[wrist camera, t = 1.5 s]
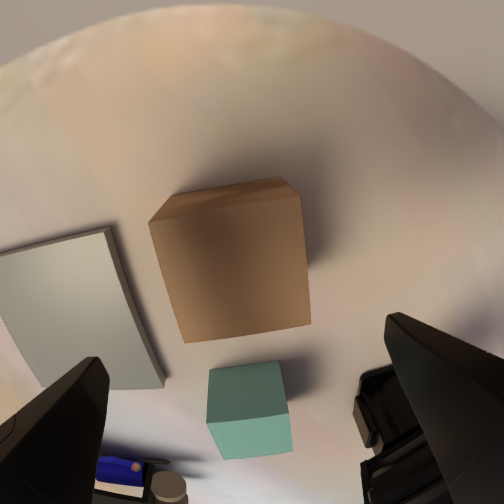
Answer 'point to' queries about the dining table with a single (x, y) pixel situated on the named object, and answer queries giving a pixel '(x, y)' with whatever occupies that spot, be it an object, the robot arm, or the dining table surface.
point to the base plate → (76, 310)
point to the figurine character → (139, 482)
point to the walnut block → (234, 259)
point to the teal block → (248, 411)
